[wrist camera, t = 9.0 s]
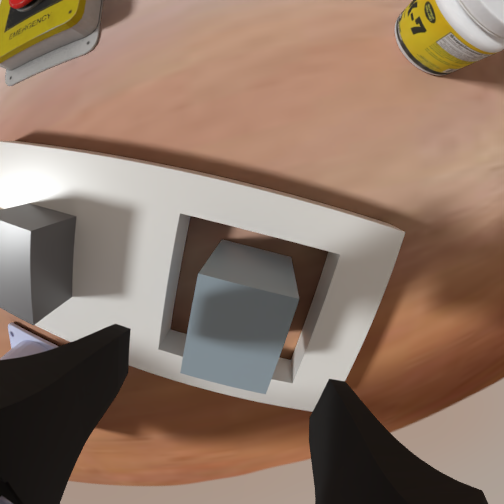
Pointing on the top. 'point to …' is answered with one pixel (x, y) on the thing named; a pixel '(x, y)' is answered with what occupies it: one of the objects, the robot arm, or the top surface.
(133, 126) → the top surface
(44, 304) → the matte grey cube
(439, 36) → the supplement bottle
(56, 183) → the white flat frame
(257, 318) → the slate plug
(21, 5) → the emergency button
